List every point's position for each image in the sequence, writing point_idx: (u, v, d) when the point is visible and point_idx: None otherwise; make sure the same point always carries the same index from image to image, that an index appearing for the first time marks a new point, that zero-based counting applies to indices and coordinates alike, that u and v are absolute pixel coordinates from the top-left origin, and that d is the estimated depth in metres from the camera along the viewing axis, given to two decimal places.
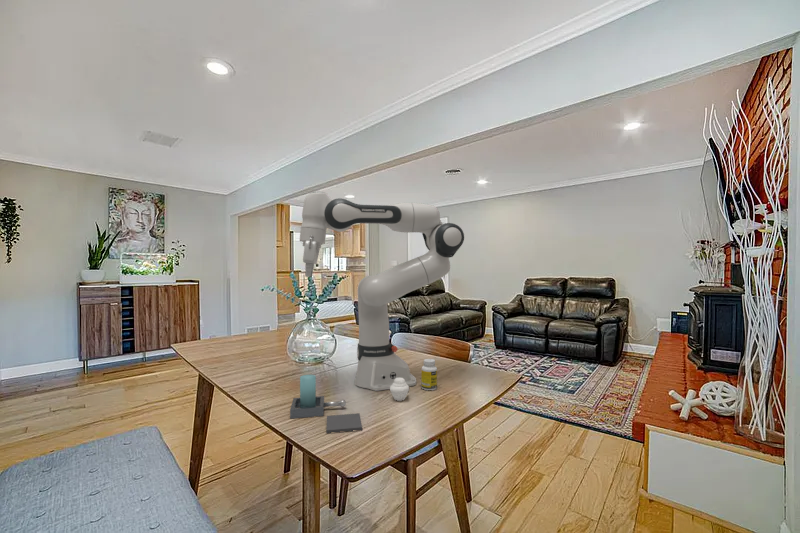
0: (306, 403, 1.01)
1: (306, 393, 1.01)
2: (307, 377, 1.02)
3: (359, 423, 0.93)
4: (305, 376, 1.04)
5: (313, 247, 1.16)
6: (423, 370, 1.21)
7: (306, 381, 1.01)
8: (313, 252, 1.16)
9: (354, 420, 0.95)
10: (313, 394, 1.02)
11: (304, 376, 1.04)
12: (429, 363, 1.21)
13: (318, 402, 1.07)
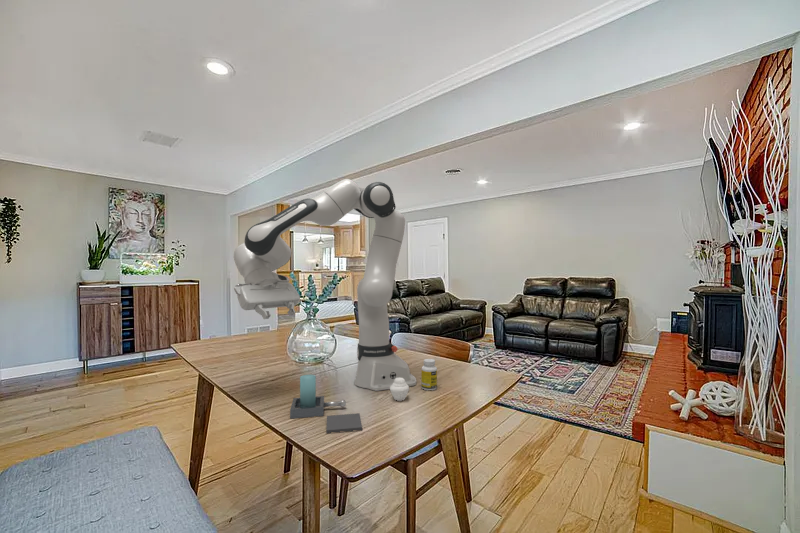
0: (306, 403, 1.01)
1: (306, 393, 1.01)
2: (307, 377, 1.02)
3: (359, 423, 0.93)
4: (305, 376, 1.04)
5: (241, 291, 1.06)
6: (423, 370, 1.21)
7: (306, 381, 1.01)
8: (242, 295, 1.05)
9: (354, 420, 0.95)
10: (313, 394, 1.02)
11: (304, 376, 1.04)
12: (429, 363, 1.21)
13: (318, 402, 1.07)
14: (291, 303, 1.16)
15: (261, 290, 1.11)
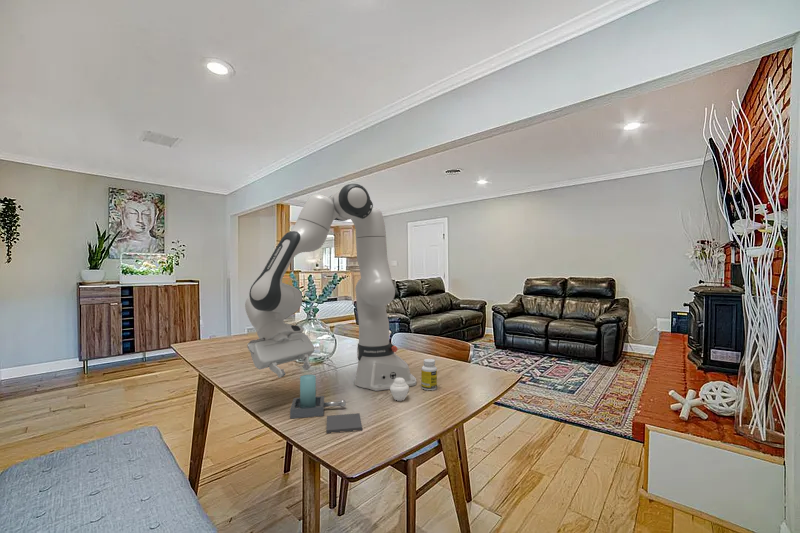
0: (306, 403, 1.01)
1: (306, 393, 1.01)
2: (307, 377, 1.02)
3: (359, 423, 0.93)
4: (305, 376, 1.04)
5: (254, 349, 1.02)
6: (423, 370, 1.21)
7: (306, 381, 1.01)
8: (256, 354, 1.01)
9: (354, 420, 0.95)
10: (313, 394, 1.02)
11: (304, 376, 1.04)
12: (429, 363, 1.21)
13: (318, 402, 1.07)
14: (306, 356, 1.12)
15: (275, 345, 1.07)
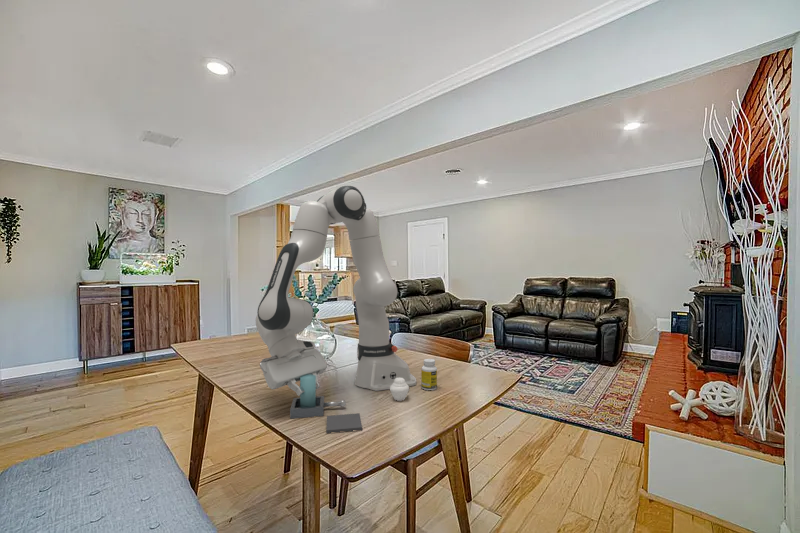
0: (306, 403, 1.01)
1: (306, 393, 1.01)
2: (307, 377, 1.02)
3: (359, 423, 0.93)
4: (305, 376, 1.04)
5: (267, 368, 0.99)
6: (423, 370, 1.21)
7: (306, 381, 1.01)
8: (269, 373, 0.98)
9: (354, 420, 0.95)
10: (313, 394, 1.02)
11: (304, 376, 1.04)
12: (429, 363, 1.21)
13: (318, 402, 1.07)
14: (314, 374, 1.07)
15: (288, 363, 1.04)
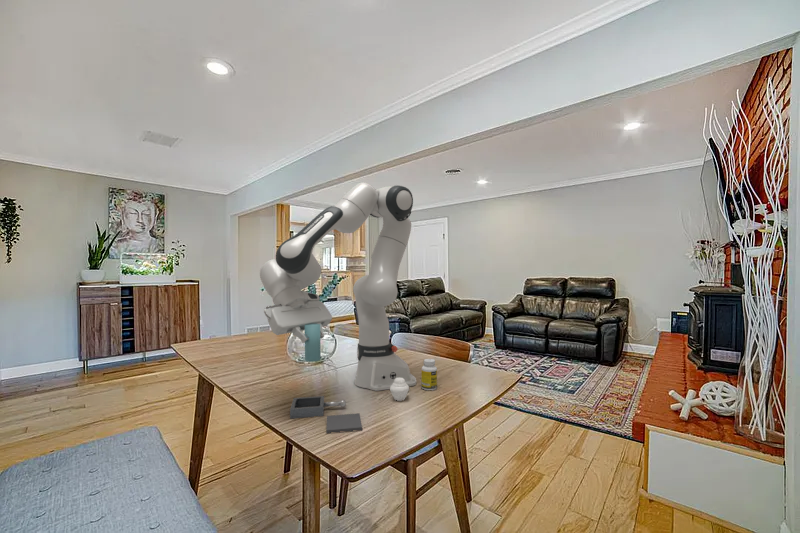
0: (311, 350, 1.00)
1: (311, 341, 1.00)
2: (312, 325, 1.01)
3: (359, 423, 0.93)
4: (310, 324, 1.03)
5: (272, 314, 0.98)
6: (423, 370, 1.21)
7: (311, 328, 1.00)
8: (274, 318, 0.97)
9: (354, 420, 0.95)
10: (318, 342, 1.01)
11: (309, 324, 1.03)
12: (429, 363, 1.21)
13: (318, 402, 1.07)
14: None
15: (292, 311, 1.03)
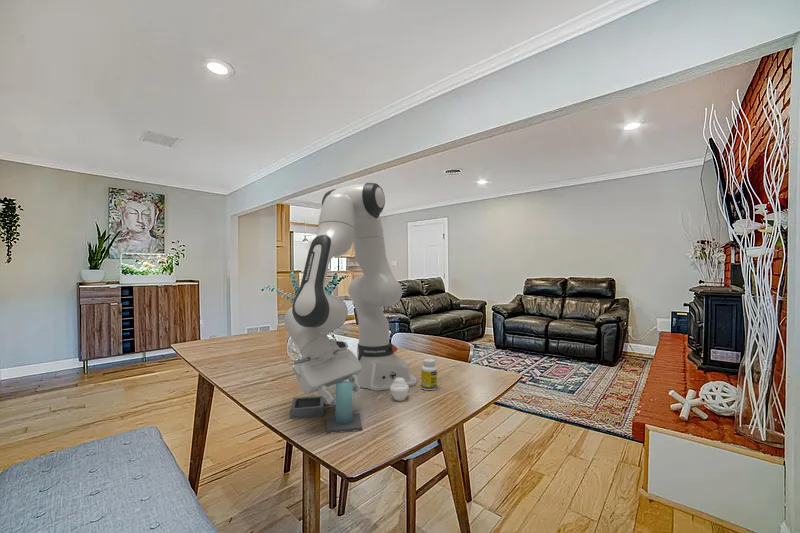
0: (343, 413, 0.92)
1: (343, 402, 0.92)
2: (344, 384, 0.94)
3: (359, 423, 0.93)
4: (341, 383, 0.95)
5: (301, 371, 0.90)
6: (423, 370, 1.21)
7: (343, 389, 0.92)
8: (304, 376, 0.89)
9: (354, 420, 0.95)
10: (350, 403, 0.94)
11: (340, 383, 0.95)
12: (429, 363, 1.21)
13: (318, 402, 1.07)
14: (354, 376, 1.00)
15: (321, 365, 0.95)
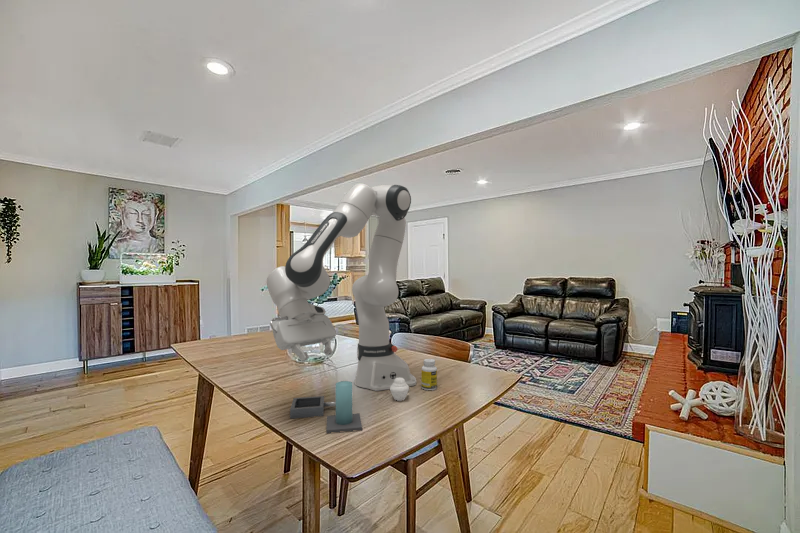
0: (343, 413, 0.92)
1: (343, 402, 0.92)
2: (343, 384, 0.94)
3: (359, 423, 0.93)
4: (341, 383, 0.95)
5: (278, 328, 0.94)
6: (423, 370, 1.21)
7: (343, 389, 0.92)
8: (280, 333, 0.93)
9: (354, 420, 0.95)
10: (350, 403, 0.93)
11: (340, 383, 0.95)
12: (429, 363, 1.21)
13: (318, 402, 1.07)
14: (328, 340, 1.05)
15: (298, 325, 1.00)
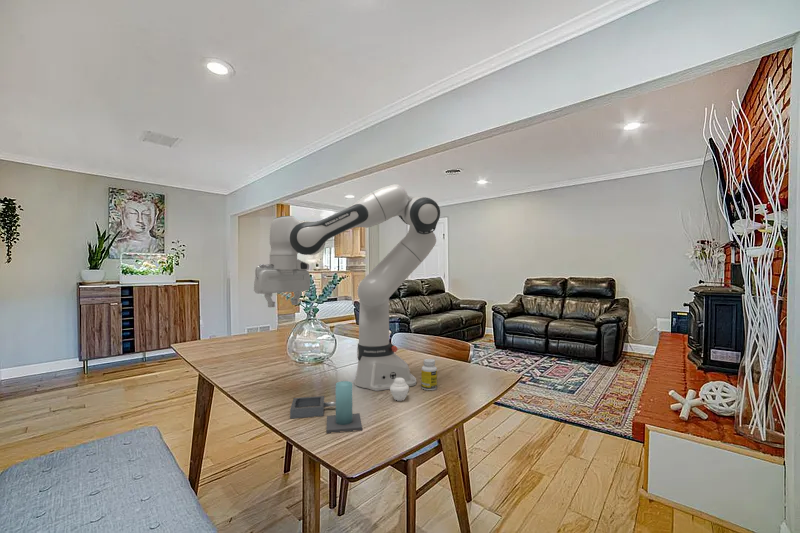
0: (343, 413, 0.92)
1: (343, 402, 0.92)
2: (344, 384, 0.94)
3: (359, 423, 0.93)
4: (341, 383, 0.95)
5: (260, 277, 1.10)
6: (423, 370, 1.21)
7: (343, 389, 0.92)
8: (259, 282, 1.10)
9: (354, 420, 0.95)
10: (350, 403, 0.94)
11: (340, 383, 0.95)
12: (429, 363, 1.21)
13: (318, 402, 1.07)
14: (299, 293, 1.23)
15: (279, 276, 1.15)
